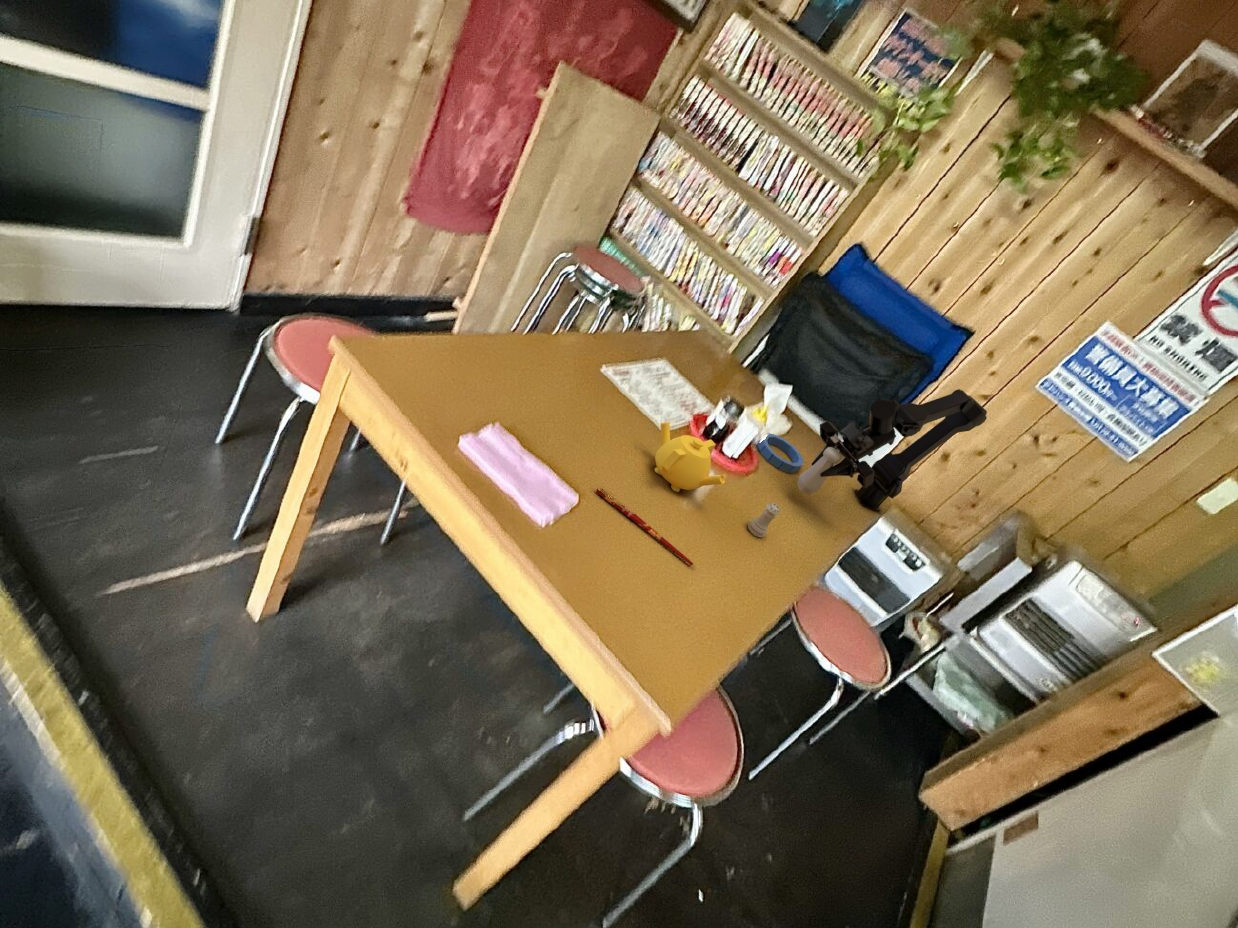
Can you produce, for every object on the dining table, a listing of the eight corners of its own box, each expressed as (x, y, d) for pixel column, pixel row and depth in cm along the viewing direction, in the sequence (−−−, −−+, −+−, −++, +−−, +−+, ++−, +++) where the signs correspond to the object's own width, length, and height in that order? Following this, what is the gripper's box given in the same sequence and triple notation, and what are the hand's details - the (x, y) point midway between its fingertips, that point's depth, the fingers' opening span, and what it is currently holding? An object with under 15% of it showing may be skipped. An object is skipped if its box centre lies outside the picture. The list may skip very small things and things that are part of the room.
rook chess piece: (753, 538, 165) (774, 513, 161) (743, 523, 168) (763, 498, 163) (767, 538, 168) (787, 514, 164) (756, 523, 170) (776, 499, 166)
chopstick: (690, 567, 145) (692, 564, 145) (595, 491, 149) (597, 488, 149) (693, 563, 147) (696, 560, 147) (599, 488, 151) (601, 484, 150)
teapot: (724, 499, 171) (751, 464, 166) (682, 517, 158) (710, 480, 152) (666, 442, 179) (689, 406, 173) (620, 454, 165) (645, 416, 159)
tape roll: (791, 450, 210) (796, 443, 208) (803, 478, 200) (808, 472, 198) (753, 434, 205) (758, 427, 204) (763, 463, 195) (769, 456, 194)
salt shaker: (814, 500, 184) (846, 463, 177) (794, 489, 184) (826, 451, 177) (813, 488, 189) (844, 451, 182) (794, 477, 189) (825, 439, 182)
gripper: (848, 395, 182) (793, 425, 181) (897, 447, 171) (838, 479, 170) (847, 421, 191) (795, 450, 190) (894, 472, 180) (838, 504, 179)
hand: (816, 470), depth 182 cm, fingers closed on salt shaker, 3 cm apart
